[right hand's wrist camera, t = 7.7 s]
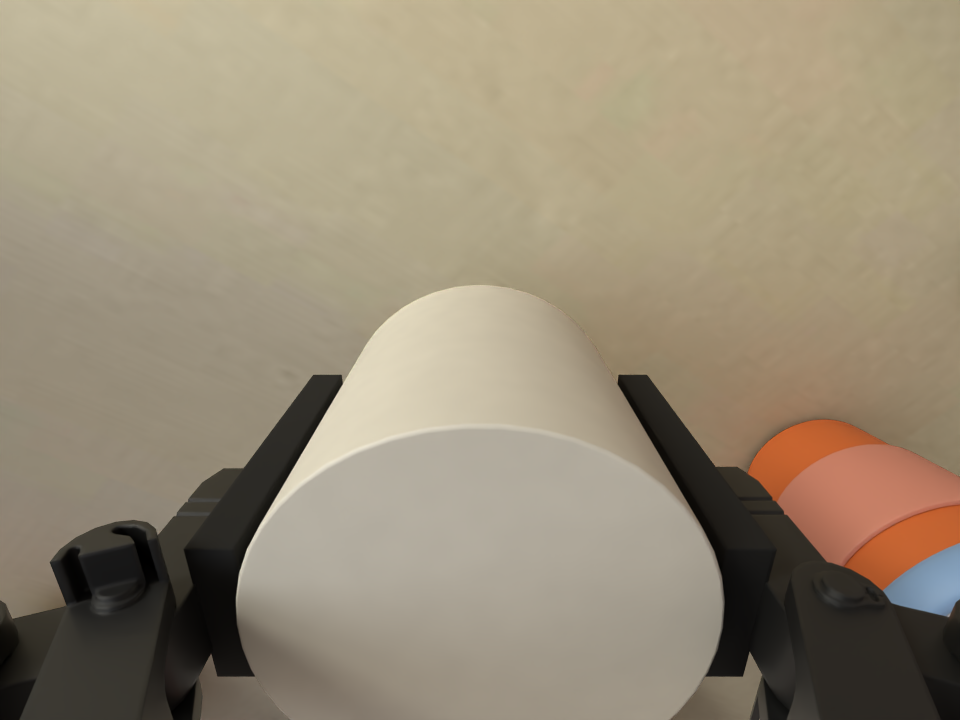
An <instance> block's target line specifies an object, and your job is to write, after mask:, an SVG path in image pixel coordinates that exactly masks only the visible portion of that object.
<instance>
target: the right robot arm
mask: <svg viewBox="0 0 960 720" xmlns="http://www.w3.org/2000/svg"><path fill="white" fill-rule="evenodd" d="M342 385H343V382H342V375H313V376H312V377H311V379H310V380H309V381H308V383H307V384H306V386H305V387H304V388H303V390H302V391H301V392H300V394H299V395H298V396H297V398H296V399H295V400H294V402H293V403H292V404H291V406H290V407H289V408H288V410H287V411H286V412H285V414H284V415H283V416H282V418H281V419H280V420H279V422H278V423H277V424H276V426H275V427H274V428H273V430H272V431H271V432H270V434H269V435H268V436H267V438H266V439H265V440H264V442H263V443H262V445H261V446H260V447H259V449H258V450H257V451H256V453H255V454H254V455H253V457H252V458H251V459H250V461H249V462H248V463H247V465H246V466H245V467H244V469H222V470H221V471H219V472H218V473H216V474H215V475H213V476H212V477H210V478H209V479H207V480H205V481H204V482H202V484H201V485H200V486H199V487H198V488H197V489H196V491H195V492H194V493H193V494H192V495H191V497H190V498H189V499H188V502H186V503H185V504H184V505H183V506H182V507H181V509H180V510H179V511H178V512H177V516H174V517H173V518H172V519H171V520H170V522H169V523H168V524H167V525H166V526H165V528H164V529H163V530H162V531H161V532H160V534H159V535H157V532H156V529H155V528H154V527H153V526H152V525H150V524H149V523H148V522H142V521H136V520H130V521H120V522H114V523H111V524H107V525H104V526H101V527H97V528H95V529H93V530H90V531H88V532H86V533H84V534H82V535H80V536H78V537H76V538H75V539H73V540H72V541H71V542H69V543H68V544H67V545H65V546H64V547H63V548H61V549H60V550H59V551H58V553H57V554H56V555H55V556H54V558H53V559H52V560H51V561H50V564H51V567H52V569H53V572H54V574H55V577H56V579H57V582H58V584H59V587H60V589H61V592H62V594H63V597H64V600H65V602H66V605H67V606H65V607H61V608H57V609H53V610H48V611H44V612H40V613H36V614H31V615H27V616H23V617H18V618H14V619H12V617H11V615H10V613H9V611H8V608H7V606H6V604H5V603H3V602H2V601H0V720H200V717H201V707H202V690H201V684H200V681H199V677H198V676H199V675H200V673H201V671H202V669H203V667H204V665H205V663H206V661H207V660H208V658H209V656H210V654H212V658H213V661H214V665H215V669H216V673H217V676H255V675H254V673H253V672H252V670H251V668H250V665H249V663H248V661H247V658H246V656H245V653H244V651H243V648H242V644H241V640H240V636H239V631H238V627H237V614H236V593H237V586H238V578H239V572H240V569H241V566H242V563H243V560H244V557H245V554H246V551H247V548H248V546H249V544H250V543H251V541H252V539H253V537H254V535H255V533H256V531H257V529H258V528H259V526H260V524H261V522H262V521H263V519H264V517H265V515H266V514H267V512H268V510H269V509H270V507H271V505H272V504H273V502H274V500H275V498H276V497H277V495H278V493H279V492H280V490H281V488H282V487H283V485H284V483H285V482H286V480H287V478H288V476H289V475H290V473H291V471H292V470H293V468H294V466H295V465H296V463H297V461H298V459H299V458H300V456H301V454H302V453H303V451H304V449H305V448H306V446H307V444H308V443H309V441H310V439H311V437H312V436H313V434H314V432H315V431H316V429H317V427H318V426H319V424H320V422H321V420H322V419H323V417H324V415H325V414H326V412H327V410H328V409H329V407H330V405H331V404H332V402H333V400H334V398H335V397H336V395H337V393H338V392H339V390H340V388H341V387H342ZM618 386H619V388H620V389H621V391H622V393H623V394H624V396H625V398H626V399H627V401H628V403H629V405H630V406H631V408H632V410H633V411H634V413H635V415H636V416H637V418H638V420H639V422H640V423H641V425H642V427H643V428H644V430H645V432H646V433H647V435H648V437H649V438H650V440H651V442H652V444H653V445H654V447H655V449H656V450H657V452H658V454H659V455H660V457H661V459H662V460H663V462H664V464H665V466H666V467H667V469H668V471H669V472H670V474H671V476H672V477H673V479H674V481H675V482H676V484H677V486H678V488H679V489H680V491H681V493H682V494H683V496H684V498H685V499H686V501H687V503H688V504H689V506H690V508H691V510H692V511H693V513H694V515H695V516H696V518H697V520H698V521H699V523H700V525H701V526H702V528H703V530H704V532H705V534H706V536H707V538H708V540H709V542H710V544H711V546H712V548H713V550H714V552H715V555H716V559H717V562H718V565H719V569H720V572H721V575H722V582H723V591H724V600H725V605H724V620H723V629H722V633H721V637H720V641H719V645H718V649H717V652H716V654H715V657H714V659H713V661H712V664H711V666H710V668H709V671H708V673H707V674H706V676H718V677H743V674H744V670H745V667H746V663H747V659H748V655H749V652H750V653H751V654H752V656H753V658H754V660H755V662H756V664H757V666H758V667H759V669H760V671H761V673H762V677H761V681H760V684H759V688H758V691H757V695H756V698H755V702H754V705H753V709H752V712H751V716H750V720H759V718H760V720H960V600H958V601H956V603H955V605H954V607H953V610H952V612H951V614H950V616H949V617H947V616H943V615H939V614H934V613H930V612H926V611H921V610H917V609H913V608H908V607H904V606H900V605H897V604H893V603H891V602H890V600H889V599H888V597H887V596H886V594H885V593H884V592H883V591H882V590H881V589H880V588H879V587H877V586H876V585H875V584H874V583H873V582H871V581H870V580H869V579H867V578H866V577H864V576H862V575H860V574H858V573H857V572H855V571H853V570H851V569H849V568H846V567H843V566H840V565H837V564H834V563H830V562H827V561H826V560H825V559H824V558H823V557H822V556H821V554H820V553H819V552H818V551H817V550H816V548H815V547H814V546H813V545H812V544H811V543H810V541H809V540H808V539H807V538H806V537H805V535H804V534H803V533H802V532H801V531H800V529H799V528H798V527H797V526H796V525H795V524H794V522H793V521H792V520H791V519H790V518H789V516H788V515H785V514H784V511H783V509H782V508H781V507H780V506H779V505H778V503H777V502H776V501H773V499H772V496H771V495H770V494H769V493H768V492H767V490H766V489H765V488H764V487H763V486H762V484H761V483H760V482H759V481H758V480H756V479H755V478H753V477H752V476H750V475H749V474H747V473H746V472H744V471H743V470H741V469H739V468H738V467H715V465H714V464H713V463H712V461H711V460H710V459H709V457H708V456H707V455H706V453H705V452H704V451H703V449H702V448H701V447H700V445H699V444H698V443H697V441H696V440H695V439H694V437H693V436H692V435H691V433H690V432H689V431H688V429H687V428H686V427H685V425H684V424H683V423H682V421H681V420H680V419H679V417H678V416H677V415H676V413H675V412H674V411H673V409H672V408H671V406H670V405H669V404H668V402H667V401H666V400H665V398H664V397H663V396H662V394H661V393H660V392H659V390H658V389H657V388H656V386H655V385H654V384H653V382H652V381H651V380H650V378H649V377H648V376H647V375H619V376H618Z"/></svg>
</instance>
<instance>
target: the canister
mask: <svg viewBox="0 0 960 720" xmlns="http://www.w3.org/2000/svg"><path fill="white" fill-rule="evenodd" d="M724 605H725V600H724V591H723V582H722V575H721V572H720V569H719V565H718V562H717V559H716V555H715V552H714V550H713V548H712V546H711V544H710V542H709V540H708V538H707V536H706V534H705V532H704V530H703V528H702V526H701V525H700V523H699V521H698V520H697V518H696V516H695V515H694V513H693V511H692V510H691V508H690V506H689V504H688V503H687V501H686V499H685V498H684V496H683V494H682V493H681V491H680V489H679V488H678V486H677V484H676V482H675V481H674V479H673V477H672V476H671V474H670V472H669V471H668V469H667V467H666V466H665V464H664V462H663V460H662V459H661V457H660V455H659V454H658V452H657V450H656V449H655V447H654V445H653V444H652V442H651V440H650V438H649V437H648V435H647V433H646V432H645V430H644V428H643V427H642V425H641V423H640V422H639V420H638V418H637V416H636V415H635V413H634V411H633V410H632V408H631V406H630V405H629V403H628V401H627V399H626V398H625V396H624V394H623V393H622V391H621V389H620V388H619V386H618V384H617V383H616V381H615V379H614V377H613V376H612V374H611V372H610V371H609V369H608V367H607V366H606V364H605V362H604V361H603V359H602V357H601V355H600V354H599V352H598V350H597V349H596V347H595V345H594V344H593V343H592V341H591V340H590V338H589V337H588V336H587V334H586V333H585V332H584V330H583V329H582V328H581V327H580V326H579V325H578V324H577V323H576V322H575V321H574V320H573V319H572V318H570V317H569V316H568V315H567V314H565V313H564V312H563V311H561V310H560V309H559V308H557V307H555V306H554V305H552V304H550V303H549V302H547V301H545V300H543V299H541V298H539V297H536V296H534V295H531V294H529V293H526V292H523V291H519V290H515V289H512V288H507V287H500V286H492V285H469V286H460V287H453V288H449V289H445V290H441V291H437V292H434V293H431V294H429V295H427V296H424V297H422V298H419V299H417V300H415V301H414V302H412V303H410V304H408V305H406V306H405V307H403V308H402V309H400V310H399V311H398V312H396V313H395V314H394V315H392V316H391V317H390V318H388V320H387V321H386V322H385V323H384V324H383V325H382V326H381V327H380V328H379V329H378V330H377V331H376V332H375V333H374V335H373V336H372V337H371V339H370V340H369V341H368V343H367V344H366V346H365V348H364V349H363V351H362V353H361V354H360V356H359V358H358V359H357V361H356V363H355V365H354V366H353V368H352V370H351V371H350V373H349V375H348V376H347V378H346V380H345V381H344V383H343V385H342V387H341V388H340V390H339V392H338V393H337V395H336V397H335V398H334V400H333V402H332V404H331V405H330V407H329V409H328V410H327V412H326V414H325V415H324V417H323V419H322V420H321V422H320V424H319V426H318V427H317V429H316V431H315V432H314V434H313V436H312V437H311V439H310V441H309V443H308V444H307V446H306V448H305V449H304V451H303V453H302V454H301V456H300V458H299V459H298V461H297V463H296V465H295V466H294V468H293V470H292V471H291V473H290V475H289V476H288V478H287V480H286V482H285V483H284V485H283V487H282V488H281V490H280V492H279V493H278V495H277V497H276V498H275V500H274V502H273V504H272V505H271V507H270V509H269V510H268V512H267V514H266V515H265V517H264V519H263V521H262V522H261V524H260V526H259V528H258V529H257V531H256V533H255V535H254V537H253V539H252V541H251V543H250V544H249V546H248V548H247V551H246V554H245V557H244V560H243V563H242V566H241V569H240V572H239V578H238V586H237V593H236V614H237V627H238V631H239V636H240V640H241V644H242V648H243V651H244V653H245V656H246V658H247V661H248V663H249V665H250V668H251V670H252V672H253V673H254V675H255V677H256V678H257V680H258V682H259V683H260V685H261V687H262V688H263V690H264V691H265V692H266V694H267V695H268V696H269V697H270V699H271V700H272V701H273V702H274V704H275V705H276V706H277V707H278V708H279V709H280V710H281V711H282V712H283V713H284V714H285V715H286V716H287V717H288V718H289V719H290V720H670V719H671V718H672V717H674V716H675V715H676V714H677V713H678V712H679V711H680V710H681V709H682V707H683V706H684V705H685V704H686V703H687V701H688V700H689V699H690V698H691V697H692V696H693V694H694V693H695V692H696V690H697V689H698V687H699V685H700V684H701V682H702V681H703V679H704V677H705V676H706V674H707V673H708V671H709V668H710V666H711V664H712V661H713V659H714V657H715V654H716V652H717V649H718V645H719V641H720V637H721V633H722V629H723V620H724Z"/></svg>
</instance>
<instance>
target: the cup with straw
mask: <svg viewBox="0 0 960 720" xmlns="http://www.w3.org/2000/svg"><path fill="white" fill-rule="evenodd" d="M748 474H749V475H750V476H752V477H753V478H755V479H756V480H758V481H759V482H760V483H761V484H762V486H763V487H764V488H765V489H766V490H767V492H768V493H769V494H770V495H771V496H772V499H773V501H776V502H777V503H778V505H779V506H780V507H781V508H782V509H783V511H784V514H785V515H788V516H789V518H790V519H791V520H792V521H793V522H794V524H795V525H796V526H797V527H798V528H799V529H800V531H801V532H802V533H803V534H804V535H805V537H806V538H807V539H808V540H809V541H810V543H811V544H812V545H813V546H814V547H815V548H816V550H817V551H818V552H819V553H820V554H821V556H822V557H823V558H824V559H825V560H826V561H827V562H830V563H834V564H837V565H840V566H843V567H846V568H849V569H851V570H853V571H855V572H857V573H858V574H860V575H862V576H864V577H866V578H867V579H869V580H870V581H871V582H873V583H874V584H875V585H876V586H877V587H879V588H880V589H881V590H882V591H883V592H884V593H885V594H886V596H887V597H888V599H889V600H890V602H891V603H893V604H897V605H900V606H904V607H908V608H913V609H917V610H921V611H926V612H930V613H934V614H939V615H943V616H947V617H949V616H950V614H951V612H952V610H953V607H954V605H955V603H956V601H958V600H960V477H959V476H957V475H955V474H953V473H951V472H949V471H947V470H946V469H944V468H942V467H940V466H938V465H936V464H934V463H932V462H930V461H928V460H927V459H925V458H923V457H921V456H919V455H917V454H915V453H913V452H911V451H909V450H906V449H904V448H901V447H896V446H892V445H889V444H887V443H885V442H883V441H881V440H880V439H878V438H876V437H874V436H872V435H870V434H868V433H866V432H865V431H863V430H861V429H859V428H857V427H855V426H852V425H850V424H848V423H845V422H841V421H836V420H825V419H824V420H812V421H807V422H803V423H800V424H797V425H794V426H792V427H790V428H788V429H786V430H784V431H782V432H780V433H779V434H777V435H776V436H774V437H773V438H772V439H771V440H769V441H768V442H767V443H766V444H765V445H764V446H763V447H762V448H761V449H760V451H759V452H758V453H757V455H756V456H755V458H754V459H753V461H752V463H751V465H750V468H749V470H748Z"/></svg>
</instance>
